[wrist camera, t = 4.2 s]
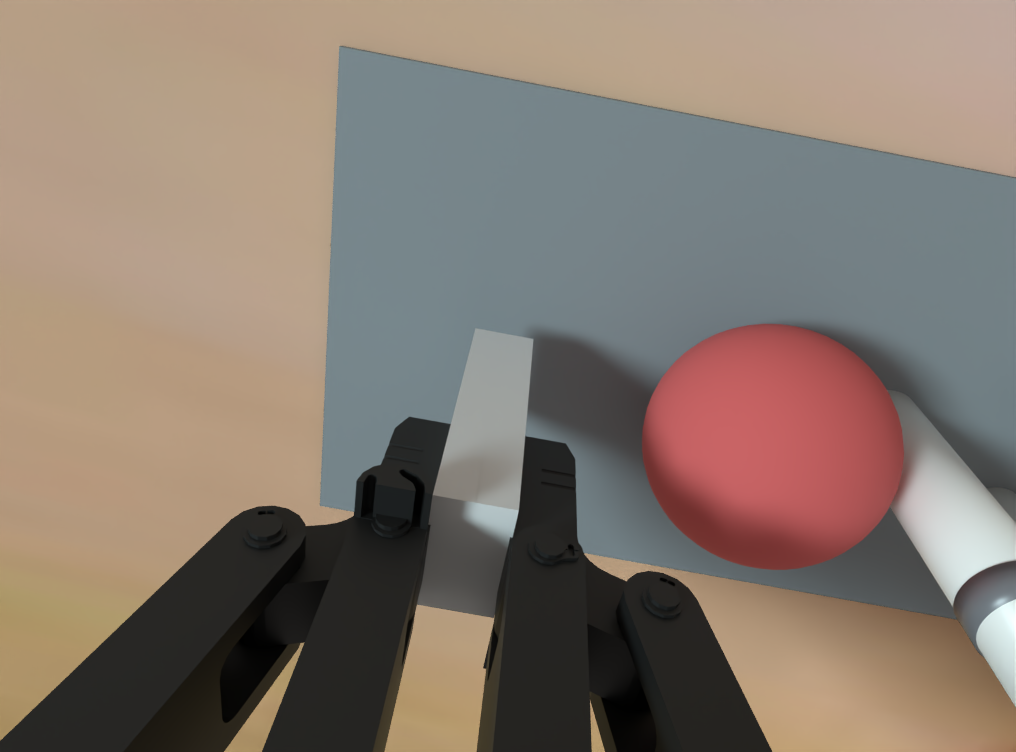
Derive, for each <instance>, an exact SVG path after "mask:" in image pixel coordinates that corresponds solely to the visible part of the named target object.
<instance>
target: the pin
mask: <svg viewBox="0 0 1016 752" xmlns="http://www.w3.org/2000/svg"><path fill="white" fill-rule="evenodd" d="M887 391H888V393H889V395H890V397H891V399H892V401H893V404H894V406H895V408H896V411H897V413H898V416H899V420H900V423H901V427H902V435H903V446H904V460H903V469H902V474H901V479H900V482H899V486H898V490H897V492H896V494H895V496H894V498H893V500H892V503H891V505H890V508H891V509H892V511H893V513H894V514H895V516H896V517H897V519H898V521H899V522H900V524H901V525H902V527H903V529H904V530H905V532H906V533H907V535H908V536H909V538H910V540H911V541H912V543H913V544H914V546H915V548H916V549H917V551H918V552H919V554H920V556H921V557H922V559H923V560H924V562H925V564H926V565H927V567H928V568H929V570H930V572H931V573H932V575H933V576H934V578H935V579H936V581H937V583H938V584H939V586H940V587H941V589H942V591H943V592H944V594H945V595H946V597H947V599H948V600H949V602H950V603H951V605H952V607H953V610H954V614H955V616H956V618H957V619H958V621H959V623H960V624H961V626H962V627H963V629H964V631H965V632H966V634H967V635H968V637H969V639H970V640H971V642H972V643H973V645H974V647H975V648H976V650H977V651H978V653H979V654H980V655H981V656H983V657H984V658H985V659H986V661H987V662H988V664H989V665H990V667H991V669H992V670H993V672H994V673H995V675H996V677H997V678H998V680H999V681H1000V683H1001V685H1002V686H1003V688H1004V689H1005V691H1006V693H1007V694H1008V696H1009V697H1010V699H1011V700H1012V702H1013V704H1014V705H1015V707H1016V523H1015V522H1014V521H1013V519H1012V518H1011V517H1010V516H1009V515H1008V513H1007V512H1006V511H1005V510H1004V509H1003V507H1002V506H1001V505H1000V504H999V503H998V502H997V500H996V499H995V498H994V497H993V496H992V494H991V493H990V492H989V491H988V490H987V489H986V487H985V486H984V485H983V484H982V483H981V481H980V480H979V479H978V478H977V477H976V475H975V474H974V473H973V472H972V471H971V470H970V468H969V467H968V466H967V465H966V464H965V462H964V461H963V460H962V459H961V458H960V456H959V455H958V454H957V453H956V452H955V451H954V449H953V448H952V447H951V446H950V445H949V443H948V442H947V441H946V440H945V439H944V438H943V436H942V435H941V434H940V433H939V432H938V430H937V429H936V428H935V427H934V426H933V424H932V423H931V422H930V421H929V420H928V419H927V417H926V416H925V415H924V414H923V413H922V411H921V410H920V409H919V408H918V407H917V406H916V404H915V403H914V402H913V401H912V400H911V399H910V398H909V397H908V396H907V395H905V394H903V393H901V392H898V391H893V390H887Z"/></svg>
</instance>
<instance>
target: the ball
mask: <svg viewBox="0 0 1016 752" xmlns="http://www.w3.org/2000/svg"><path fill="white" fill-rule="evenodd" d="M642 453H643V462H644V466H645V470H646V474H647V478H648V481H649V484H650V486H651V489H652V491H653V493H654V495H655V497H656V499H657V501H658V503H659V504H660V506H661V508H662V509H663V511H664V512H665V513H666V515H667V516H668V518H669V519H670V520H671V521H672V522H673V524H674V525H675V526H676V527H677V528H678V529H679V530H680V531H681V532H682V533H683V534H685V535H686V536H687V537H688V538H689V539H691V540H692V541H693V542H695V543H696V544H697V545H699V546H700V547H702V548H703V549H705V550H707V551H708V552H710V553H712V554H714V555H716V556H718V557H720V558H722V559H725V560H727V561H730V562H733V563H736V564H740V565H743V566H748V567H753V568H759V569H769V570H789V569H798V568H803V567H807V566H812V565H815V564H819V563H822V562H825V561H827V560H830V559H833V558H834V557H836V556H838V555H840V554H842V553H844V552H846V551H847V550H849V549H850V548H852V547H853V546H855V545H856V544H858V543H859V542H860V541H862V540H863V539H864V538H865V537H866V536H867V535H868V534H869V533H870V532H871V531H872V530H873V529H874V528H875V527H876V526H877V524H878V523H879V522H880V521H881V519H882V518H883V516H884V515H885V514H886V512H887V510H888V508H889V507H890V505H891V503H892V500H893V498H894V496H895V494H896V492H897V490H898V486H899V482H900V479H901V474H902V469H903V460H904V446H903V435H902V427H901V423H900V420H899V416H898V413H897V411H896V408H895V406H894V404H893V401H892V399H891V397H890V395H889V393H888V391H887V389H886V388H885V386H884V385H883V383H882V382H881V380H880V379H879V378H878V376H877V375H876V374H875V373H874V372H873V371H872V369H871V368H870V367H869V366H868V365H867V364H866V363H865V362H864V361H863V360H862V359H860V358H859V357H858V356H857V355H856V354H855V353H854V352H852V351H851V350H849V349H848V348H846V347H845V346H843V345H842V344H840V343H838V342H836V341H835V340H833V339H831V338H829V337H827V336H825V335H822V334H819V333H817V332H814V331H812V330H808V329H804V328H800V327H796V326H790V325H783V324H755V325H747V326H742V327H737V328H733V329H729V330H726V331H723V332H720V333H718V334H715V335H713V336H711V337H709V338H707V339H705V340H703V341H701V342H700V343H698V344H697V345H695V346H694V347H692V348H691V349H689V350H688V351H686V352H685V353H684V354H683V355H682V356H681V357H680V358H679V359H677V360H676V361H675V362H674V363H673V365H672V366H671V367H670V368H669V369H668V371H667V372H666V373H665V374H664V376H663V377H662V378H661V380H660V382H659V383H658V385H657V387H656V389H655V391H654V392H653V394H652V396H651V399H650V402H649V404H648V407H647V411H646V415H645V419H644V424H643V431H642Z"/></svg>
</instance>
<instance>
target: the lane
mask: <svg viewBox="0 0 1016 752" xmlns="http://www.w3.org/2000/svg"><path fill="white" fill-rule="evenodd" d="M755 324H783V325H790V326H796V327H800V328H804V329H808V330H812V331H814V332H817V333H819V334H822V335H825V336H827V337H829V338H831V339H833V340H835V341H836V342H838V343H840V344H842V345H843V346H845V347H846V348H848V349H849V350H851V351H852V352H854V353H855V354H856V355H857V356H858V357H859V358H860V359H862V360H863V361H864V362H865V363H866V364H867V365H868V366H869V367H870V368H871V369H872V371H873V372H874V373H875V374H876V375H877V376H878V378H879V379H880V380H881V382H882V383H883V385H884V386H885V388H886V389H887V390H893V391H898V392H901V393H903V394H905V395H907V396H908V397H909V398H910V399H911V400H912V401H913V402H914V403H915V404H916V406H917V407H918V408H919V409H920V410H921V411H922V413H923V414H924V415H925V416H926V417H927V419H928V420H929V421H930V422H931V423H932V424H933V426H934V427H935V428H936V429H937V430H938V432H939V433H940V434H941V435H942V436H943V438H944V439H945V440H946V441H947V442H948V443H949V445H950V446H951V447H952V448H953V449H954V451H955V452H956V453H957V454H958V455H959V456H960V458H961V459H962V460H963V461H964V462H965V464H966V465H967V466H968V467H969V468H970V470H971V471H972V472H973V473H974V474H975V475H976V477H977V478H978V479H979V480H980V481H981V483H982V484H983V485H984V486H985V487H986V488H992V487H999V488H1005V489H1008V490H1011V491H1013V492H1014V493H1015V494H1016V177H1010V176H1005V175H1000V174H995V173H990V172H985V171H980V170H975V169H970V168H964V167H959V166H954V165H949V164H944V163H939V162H934V161H929V160H923V159H918V158H913V157H908V156H903V155H898V154H893V153H888V152H882V151H877V150H872V149H867V148H862V147H857V146H852V145H847V144H841V143H836V142H831V141H826V140H821V139H816V138H811V137H806V136H801V135H795V134H790V133H785V132H780V131H775V130H770V129H765V128H760V127H754V126H749V125H744V124H739V123H734V122H729V121H724V120H719V119H713V118H708V117H703V116H698V115H693V114H688V113H683V112H678V111H672V110H667V109H662V108H657V107H652V106H647V105H642V104H637V103H632V102H626V101H621V100H616V99H611V98H606V97H601V96H596V95H591V94H585V93H580V92H575V91H570V90H565V89H560V88H555V87H550V86H544V85H539V84H534V83H529V82H524V81H519V80H514V79H509V78H503V77H498V76H493V75H488V74H483V73H478V72H473V71H468V70H463V69H457V68H452V67H447V66H442V65H437V64H432V63H427V62H422V61H416V60H411V59H406V58H401V57H396V56H391V55H386V54H381V53H375V52H370V51H365V50H360V49H355V48H350V47H345V46H340V47H339V69H338V92H337V116H336V140H335V163H334V187H333V210H332V234H331V258H330V281H329V305H328V329H327V352H326V376H325V400H324V423H323V447H322V471H321V494H320V506H325V507H330V508H336V509H342V510H347V511H353V512H354V508H355V494H356V481H357V479H358V478H359V477H360V476H361V474H362V473H363V472H364V471H366V470H368V469H370V468H372V467H373V466H377V465H381V463H382V460H383V458H384V456H385V453H386V450H387V447H388V446H389V442H390V440H391V437H392V434H393V432H394V429H395V428H396V427H397V426H398V425H399V424H400V423H402V422H403V421H404V420H405V419H407V418H408V417H415V418H420V419H426V420H431V421H437V422H442V423H448V424H451V422H452V418H453V414H454V410H455V406H456V402H457V398H458V395H459V391H460V387H461V383H462V379H463V375H464V371H465V367H466V363H467V360H468V356H469V352H470V348H471V344H472V340H473V336H474V332H475V328H477V329H482V330H488V331H493V332H498V333H504V334H509V335H515V336H520V337H525V338H531V339H533V350H532V362H531V374H530V385H529V397H528V409H527V421H526V432H525V436H528V437H533V438H539V439H544V440H550V441H555V442H561V443H566V444H567V446H568V448H569V449H570V451H571V453H572V454H573V456H574V458H575V463H576V476H575V478H576V503H577V538H578V543H579V544H580V545H581V546H582V549H583V552H584V553H588V554H593V555H599V556H604V557H610V558H616V559H621V560H627V561H632V562H638V563H644V564H649V565H655V566H660V567H666V568H672V569H677V570H683V571H688V572H694V573H700V574H705V575H711V576H716V577H722V578H728V579H733V580H739V581H744V582H750V583H755V584H761V585H767V586H772V587H778V588H783V589H789V590H795V591H800V592H806V593H811V594H817V595H823V596H828V597H834V598H839V599H845V600H851V601H856V602H862V603H867V604H873V605H879V606H884V607H890V608H895V609H901V610H906V611H912V612H918V613H923V614H929V615H934V616H940V617H946V618H951V619H957V618H956V616H955V614H954V610H953V607H952V605H951V603H950V602H949V600H948V599H947V597H946V595H945V594H944V592H943V591H942V589H941V587H940V586H939V584H938V583H937V581H936V579H935V578H934V576H933V575H932V573H931V572H930V570H929V568H928V567H927V565H926V564H925V562H924V560H923V559H922V557H921V556H920V554H919V552H918V551H917V549H916V548H915V546H914V544H913V543H912V541H911V540H910V538H909V536H908V535H907V533H906V532H905V530H904V529H903V527H902V525H901V524H900V522H899V521H898V519H897V517H896V516H895V514H894V513H893V511H892V509H891V508H890V507H889V508H888V510H887V512H886V514H885V515H884V516H883V518H882V519H881V521H880V522H879V523H878V524H877V526H876V527H875V528H874V529H873V530H872V531H871V532H870V533H869V534H868V535H867V536H866V537H865V538H864V539H863V540H862V541H860V542H859V543H858V544H856V545H855V546H853V547H852V548H850V549H849V550H847V551H846V552H844V553H842V554H840V555H838V556H836V557H834V558H833V559H830V560H827V561H825V562H822V563H819V564H815V565H812V566H807V567H803V568H798V569H789V570H769V569H759V568H753V567H748V566H743V565H740V564H736V563H733V562H730V561H727V560H725V559H722V558H720V557H718V556H716V555H714V554H712V553H710V552H708V551H707V550H705V549H703V548H702V547H700V546H699V545H697V544H696V543H695V542H693V541H692V540H691V539H689V538H688V537H687V536H686V535H685V534H683V533H682V532H681V531H680V530H679V529H678V528H677V527H676V526H675V525H674V524H673V522H672V521H671V520H670V519H669V518H668V516H667V515H666V513H665V512H664V511H663V509H662V508H661V506H660V504H659V503H658V501H657V499H656V497H655V495H654V493H653V491H652V489H651V486H650V484H649V481H648V478H647V474H646V470H645V466H644V462H643V453H642V431H643V424H644V419H645V415H646V411H647V407H648V404H649V402H650V399H651V396H652V394H653V392H654V391H655V389H656V387H657V385H658V383H659V382H660V380H661V378H662V377H663V376H664V374H665V373H666V372H667V371H668V369H669V368H670V367H671V366H672V365H673V363H674V362H675V361H676V360H677V359H679V358H680V357H681V356H682V355H683V354H684V353H685V352H686V351H688V350H689V349H691V348H692V347H694V346H695V345H697V344H698V343H700V342H701V341H703V340H705V339H707V338H709V337H711V336H713V335H715V334H718V333H720V332H723V331H726V330H729V329H733V328H737V327H742V326H747V325H755ZM957 620H958V619H957Z"/></svg>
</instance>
